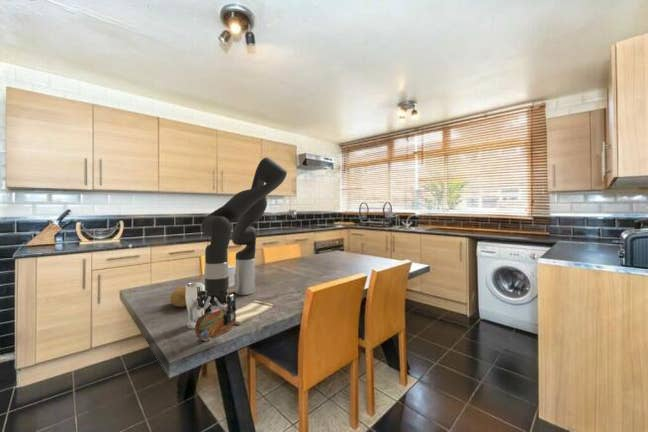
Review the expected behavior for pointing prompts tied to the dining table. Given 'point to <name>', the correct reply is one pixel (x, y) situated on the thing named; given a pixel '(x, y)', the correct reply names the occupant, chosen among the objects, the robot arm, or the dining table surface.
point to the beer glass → (194, 302)
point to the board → (251, 311)
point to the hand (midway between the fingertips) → (217, 322)
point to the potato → (179, 296)
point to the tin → (212, 325)
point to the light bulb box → (231, 275)
